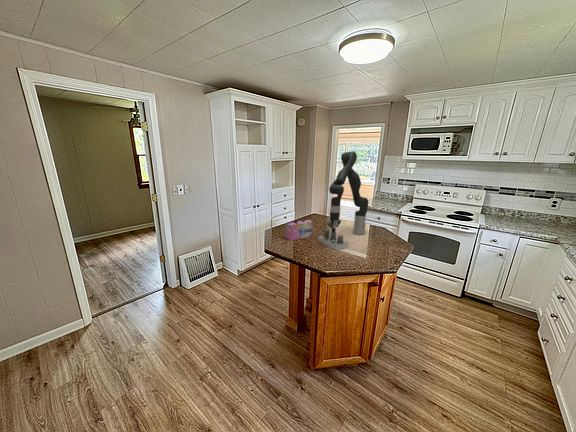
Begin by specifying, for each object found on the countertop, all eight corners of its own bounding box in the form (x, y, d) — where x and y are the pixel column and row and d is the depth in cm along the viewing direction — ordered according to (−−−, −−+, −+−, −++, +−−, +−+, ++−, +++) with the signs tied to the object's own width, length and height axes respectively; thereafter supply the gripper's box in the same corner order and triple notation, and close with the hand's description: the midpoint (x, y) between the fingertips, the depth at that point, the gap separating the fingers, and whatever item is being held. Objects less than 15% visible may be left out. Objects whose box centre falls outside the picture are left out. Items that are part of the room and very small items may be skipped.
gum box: (308, 233, 209) (309, 218, 206) (314, 236, 203) (314, 221, 199) (285, 237, 197) (285, 222, 194) (290, 240, 191) (290, 224, 187)
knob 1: (326, 234, 193) (327, 228, 192) (330, 236, 190) (330, 230, 188) (323, 235, 191) (323, 229, 190) (326, 237, 188) (326, 230, 186)
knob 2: (340, 240, 180) (340, 234, 178) (343, 242, 176) (344, 236, 175) (336, 241, 178) (336, 235, 176) (339, 243, 174) (340, 236, 173)
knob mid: (333, 237, 186) (333, 231, 185) (336, 239, 183) (337, 232, 182) (329, 238, 184) (329, 232, 183) (332, 240, 181) (333, 233, 180)
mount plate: (329, 238, 197) (329, 233, 196) (348, 247, 178) (348, 242, 177) (318, 240, 191) (318, 236, 190) (336, 250, 173) (336, 245, 172)
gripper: (338, 209, 184) (336, 230, 189) (325, 210, 178) (323, 232, 182) (344, 211, 178) (343, 232, 182) (331, 213, 171) (330, 235, 176)
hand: (333, 232), depth 182 cm, fingers closed
